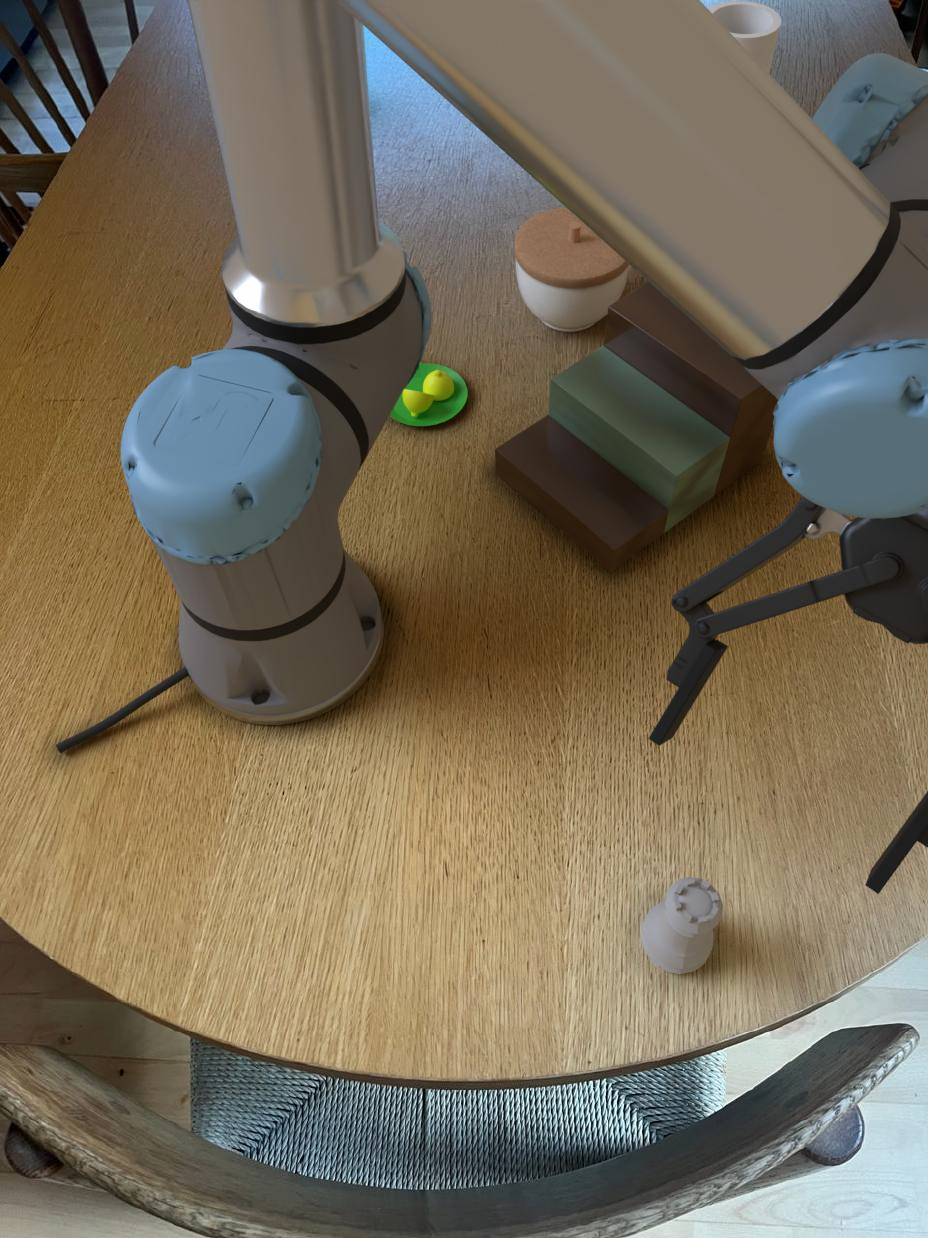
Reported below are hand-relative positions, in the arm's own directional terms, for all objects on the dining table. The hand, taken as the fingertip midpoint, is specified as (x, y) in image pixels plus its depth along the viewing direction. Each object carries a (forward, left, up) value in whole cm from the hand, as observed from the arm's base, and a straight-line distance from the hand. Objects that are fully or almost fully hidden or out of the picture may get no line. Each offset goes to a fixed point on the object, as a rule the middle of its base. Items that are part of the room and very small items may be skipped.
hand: (762, 807), depth 55 cm
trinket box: (+30, +47, -11) cm, 57 cm away
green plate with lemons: (+12, +47, -11) cm, 50 cm away
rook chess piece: (-6, -1, -11) cm, 12 cm away
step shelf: (+20, +29, -11) cm, 37 cm away
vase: (+48, +46, -11) cm, 68 cm away
